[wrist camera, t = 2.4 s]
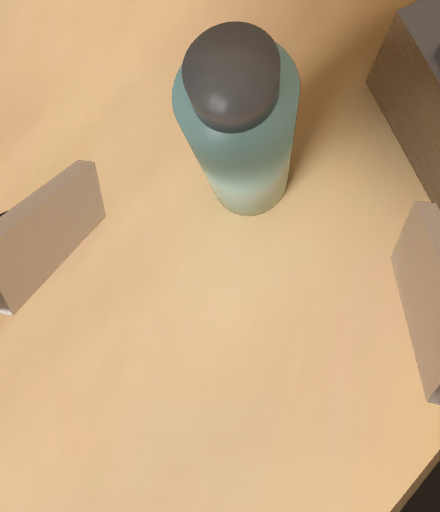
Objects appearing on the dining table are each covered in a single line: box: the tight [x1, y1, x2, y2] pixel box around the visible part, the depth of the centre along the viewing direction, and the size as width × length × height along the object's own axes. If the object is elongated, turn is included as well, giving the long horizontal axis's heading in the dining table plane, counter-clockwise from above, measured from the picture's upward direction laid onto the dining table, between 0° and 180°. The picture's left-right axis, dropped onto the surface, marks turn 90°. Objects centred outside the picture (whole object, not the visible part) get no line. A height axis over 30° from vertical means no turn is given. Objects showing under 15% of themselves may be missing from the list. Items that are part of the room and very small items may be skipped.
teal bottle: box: [172, 22, 300, 216], centre depth 19 cm, size 5×5×12 cm
